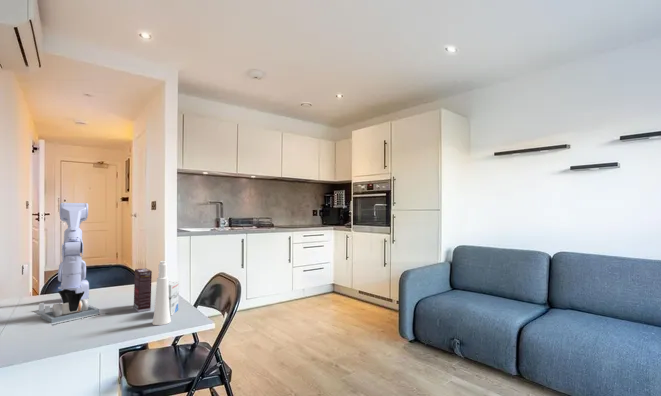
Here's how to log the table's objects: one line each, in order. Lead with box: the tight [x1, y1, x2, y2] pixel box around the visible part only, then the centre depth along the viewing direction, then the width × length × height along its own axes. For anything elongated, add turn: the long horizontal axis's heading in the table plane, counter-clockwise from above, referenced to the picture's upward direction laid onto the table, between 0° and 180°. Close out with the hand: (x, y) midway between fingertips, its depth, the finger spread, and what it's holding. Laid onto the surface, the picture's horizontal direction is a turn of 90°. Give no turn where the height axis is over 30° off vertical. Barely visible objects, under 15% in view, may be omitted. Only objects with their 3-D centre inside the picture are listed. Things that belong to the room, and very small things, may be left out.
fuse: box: [51, 299, 89, 318], centre depth 131 cm, size 10×5×5 cm, turn 146°
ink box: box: [168, 280, 180, 317], centre depth 137 cm, size 8×5×12 cm, turn 5°
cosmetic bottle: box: [151, 260, 172, 326], centre depth 125 cm, size 6×6×22 cm
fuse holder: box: [32, 302, 52, 316], centre depth 138 cm, size 13×10×4 cm
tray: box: [40, 304, 100, 326], centre depth 131 cm, size 15×11×2 cm
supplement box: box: [133, 267, 153, 313], centre depth 142 cm, size 9×5×16 cm, turn 41°
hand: (70, 309), depth 131 cm, fingers open, 4 cm apart
